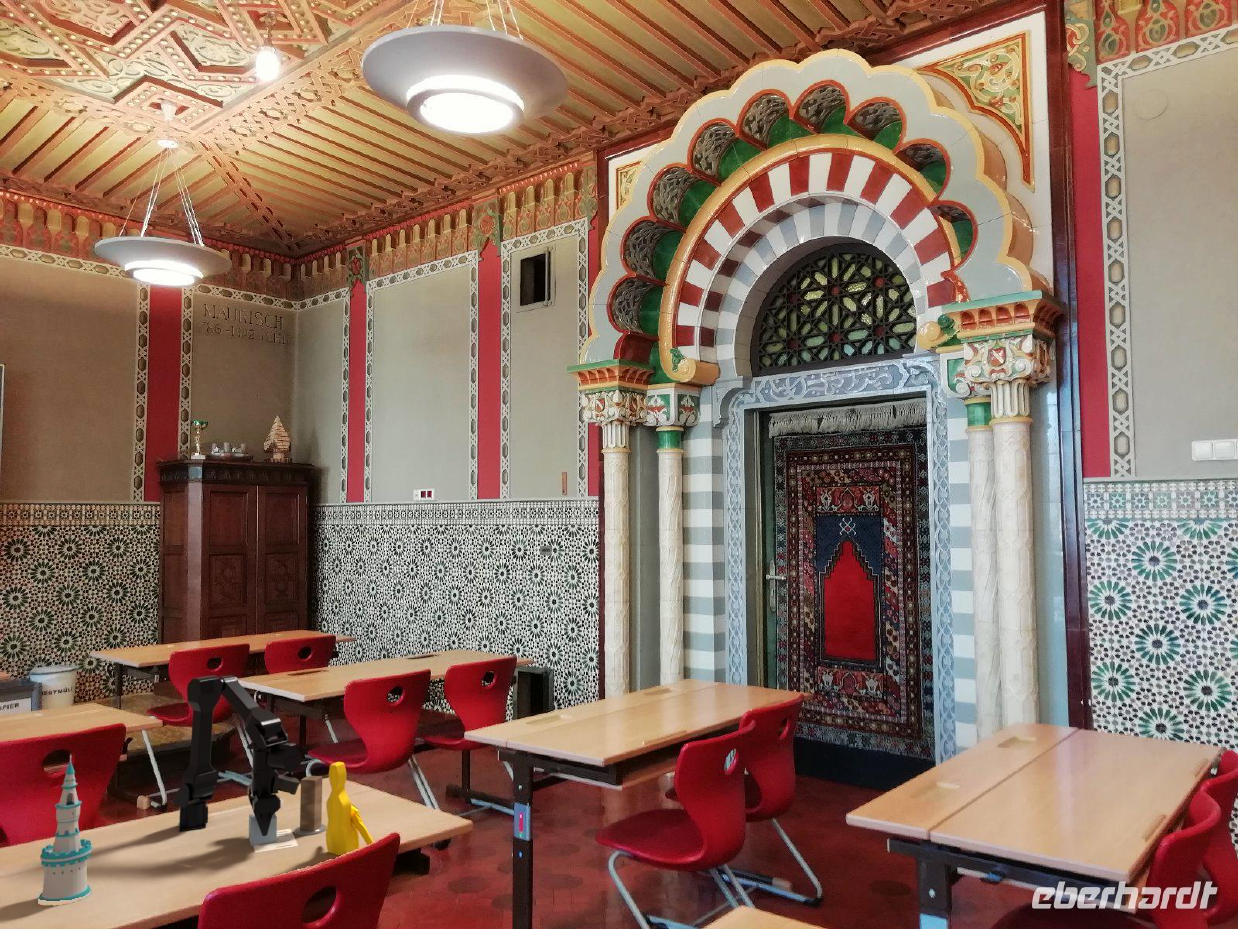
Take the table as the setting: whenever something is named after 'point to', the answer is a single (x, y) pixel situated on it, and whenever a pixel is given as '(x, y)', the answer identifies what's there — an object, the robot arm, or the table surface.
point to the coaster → (320, 830)
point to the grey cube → (256, 834)
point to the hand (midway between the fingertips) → (262, 830)
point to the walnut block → (311, 803)
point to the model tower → (66, 849)
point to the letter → (278, 842)
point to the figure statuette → (342, 816)
